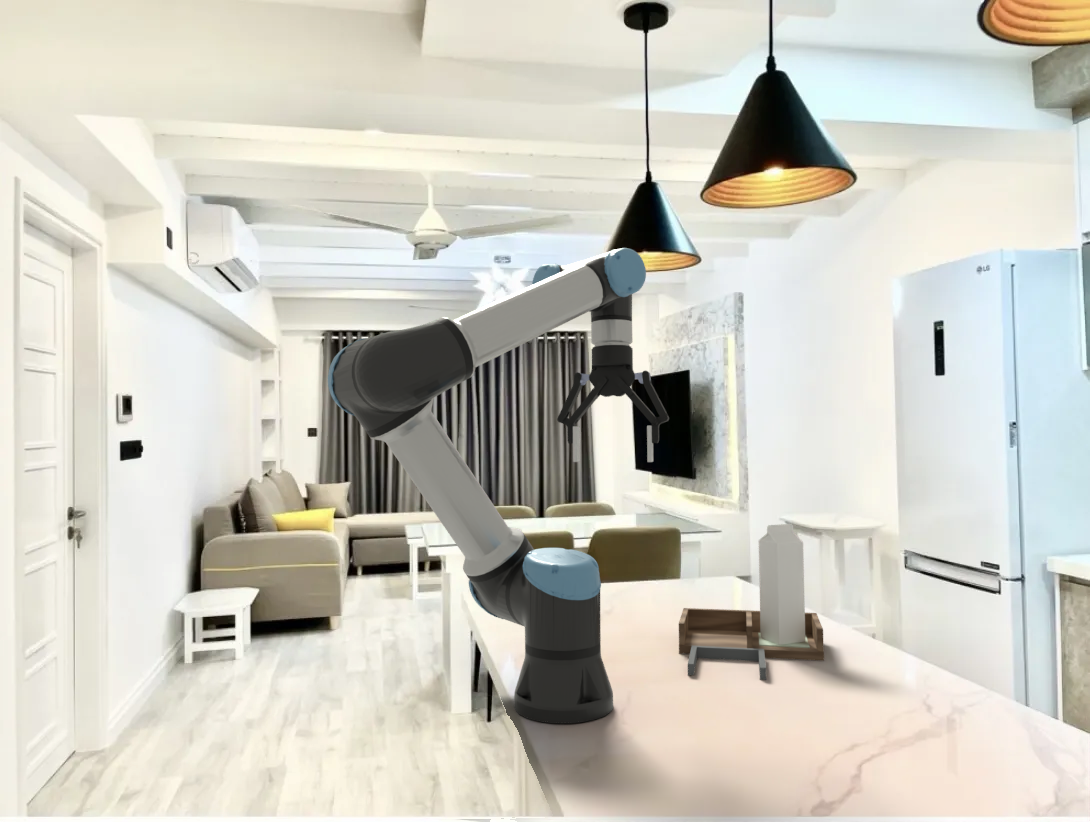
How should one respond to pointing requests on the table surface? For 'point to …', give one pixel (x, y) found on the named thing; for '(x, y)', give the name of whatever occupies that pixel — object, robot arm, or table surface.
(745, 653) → the bracket
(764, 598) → the milk
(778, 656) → the box
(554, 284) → the robot arm
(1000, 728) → the table surface
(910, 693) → the table surface
